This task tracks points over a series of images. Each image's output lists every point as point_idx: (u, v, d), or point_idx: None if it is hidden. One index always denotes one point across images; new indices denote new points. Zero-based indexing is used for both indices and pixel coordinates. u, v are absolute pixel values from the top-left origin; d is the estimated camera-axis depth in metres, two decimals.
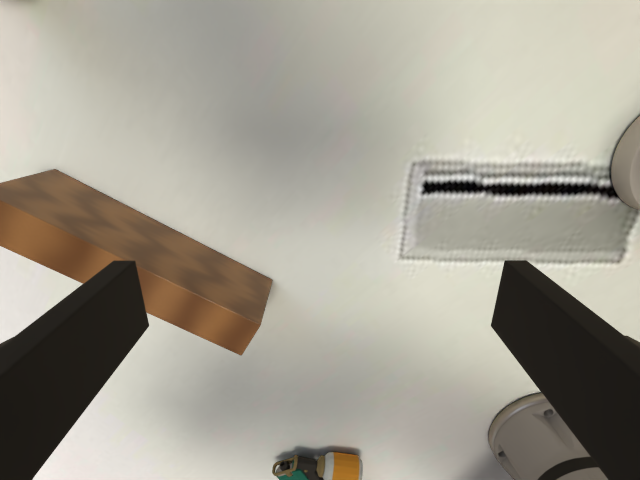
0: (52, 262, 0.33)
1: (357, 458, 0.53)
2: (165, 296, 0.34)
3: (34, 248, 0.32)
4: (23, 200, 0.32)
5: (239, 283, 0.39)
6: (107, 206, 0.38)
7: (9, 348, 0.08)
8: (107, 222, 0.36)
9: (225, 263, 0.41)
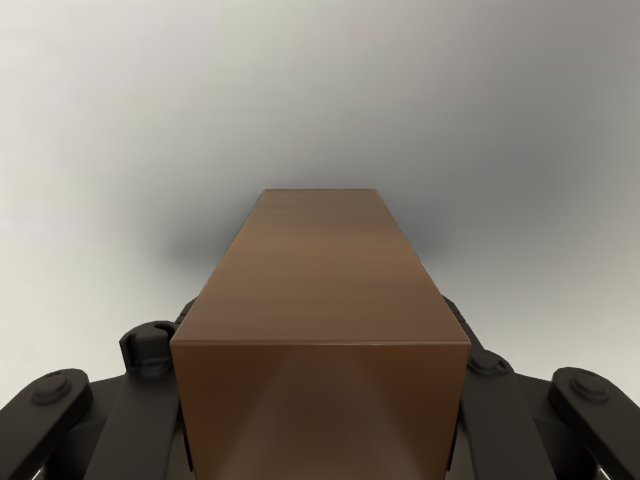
0: None
1: None
2: None
3: None
4: None
5: None
6: None
7: None
8: None
9: None
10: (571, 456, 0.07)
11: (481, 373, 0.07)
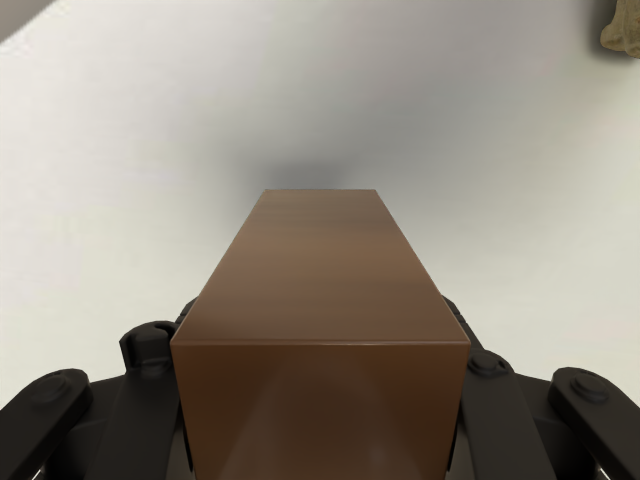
0: None
1: None
2: None
3: None
4: None
5: None
6: None
7: None
8: None
9: None
10: (571, 456, 0.07)
11: (481, 373, 0.07)
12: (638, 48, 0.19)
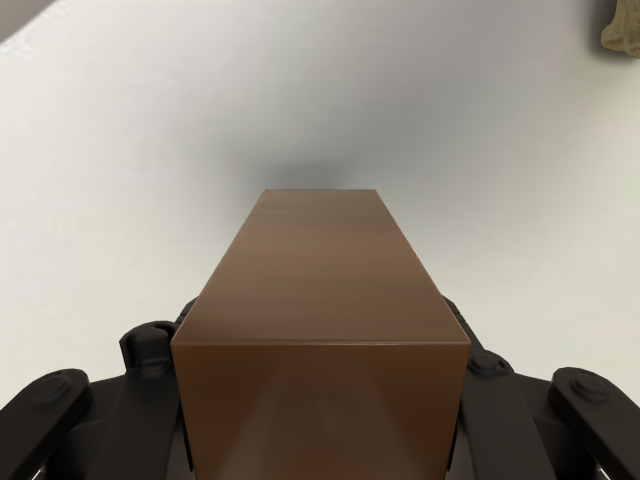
0: None
1: None
2: None
3: None
4: None
5: None
6: None
7: None
8: None
9: None
10: (571, 456, 0.07)
11: (481, 372, 0.07)
12: (638, 48, 0.19)
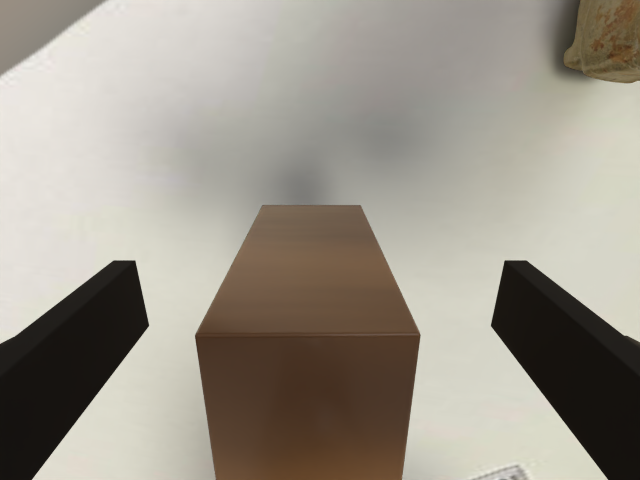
0: None
1: None
2: None
3: None
4: None
5: None
6: None
7: (9, 348, 0.08)
8: None
9: None
10: None
11: None
12: (592, 70, 0.21)
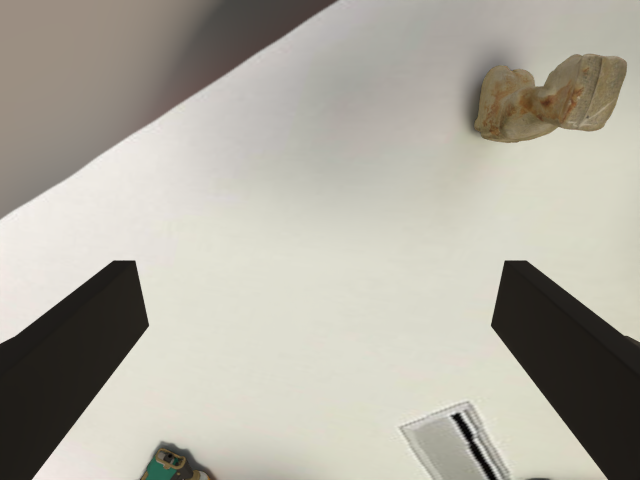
0: None
1: None
2: None
3: None
4: None
5: None
6: None
7: (9, 348, 0.08)
8: None
9: None
10: None
11: None
12: (484, 136, 0.36)
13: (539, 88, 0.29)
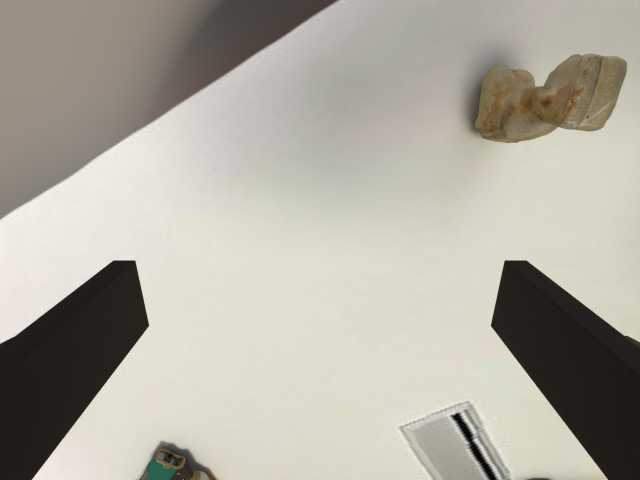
0: None
1: None
2: None
3: None
4: None
5: None
6: None
7: (9, 348, 0.08)
8: None
9: None
10: None
11: None
12: (484, 136, 0.36)
13: (539, 88, 0.29)
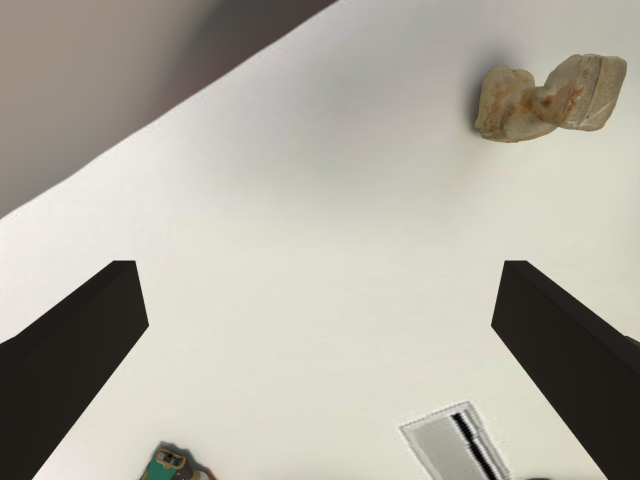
0: None
1: None
2: None
3: None
4: None
5: None
6: None
7: (9, 348, 0.08)
8: None
9: None
10: None
11: None
12: (484, 136, 0.36)
13: (539, 88, 0.29)
